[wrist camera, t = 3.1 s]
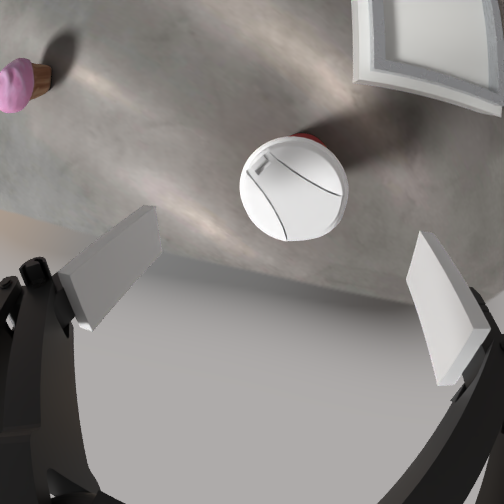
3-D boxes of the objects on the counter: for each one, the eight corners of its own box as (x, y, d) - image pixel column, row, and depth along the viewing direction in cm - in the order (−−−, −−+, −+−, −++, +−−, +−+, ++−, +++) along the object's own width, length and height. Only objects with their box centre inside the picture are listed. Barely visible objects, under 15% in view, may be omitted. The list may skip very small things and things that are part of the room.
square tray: (352, 83, 25) (362, 77, 19) (347, -37, 17) (352, -65, 11) (479, 112, 22) (511, 119, 16) (473, -2, 14) (500, -16, 8)
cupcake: (61, 49, 28) (11, 52, 19) (61, 99, 32) (11, 110, 24) (31, 65, 29) (-14, 71, 21) (31, 110, 34) (-13, 123, 25)
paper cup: (254, 155, 32) (212, 193, 20) (303, 109, 28) (292, 113, 16) (302, 203, 33) (290, 268, 21) (352, 161, 29) (374, 204, 18)
